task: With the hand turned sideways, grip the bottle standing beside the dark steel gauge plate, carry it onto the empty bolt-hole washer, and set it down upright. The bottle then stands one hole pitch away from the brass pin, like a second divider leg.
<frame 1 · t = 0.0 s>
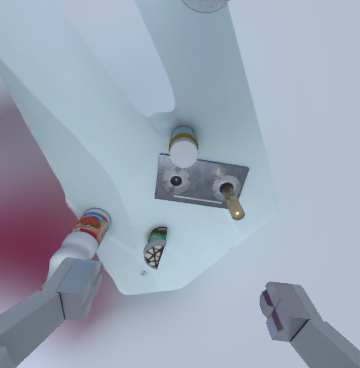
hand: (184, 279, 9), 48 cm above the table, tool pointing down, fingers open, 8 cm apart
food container: (155, 234, 70), on the table
gauge plate: (199, 182, 60), on the table
bottle: (183, 138, 54), on the table
fruit juice: (98, 218, 67), on the table
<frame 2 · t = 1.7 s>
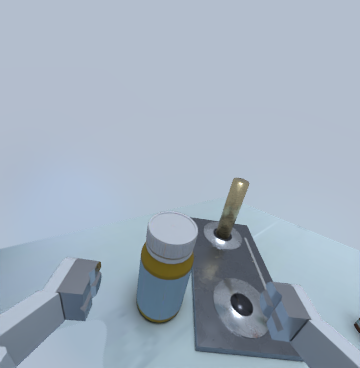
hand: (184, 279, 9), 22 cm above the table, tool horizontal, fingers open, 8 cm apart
gauge plate: (228, 269, 37), on the table
bottle: (158, 300, 30), on the table
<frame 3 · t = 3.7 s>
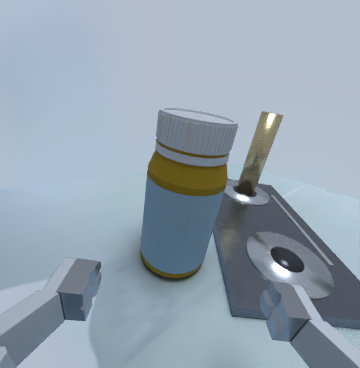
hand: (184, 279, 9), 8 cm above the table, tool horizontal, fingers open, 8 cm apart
gauge plate: (258, 225, 29), on the table
bottle: (171, 255, 21), on the table
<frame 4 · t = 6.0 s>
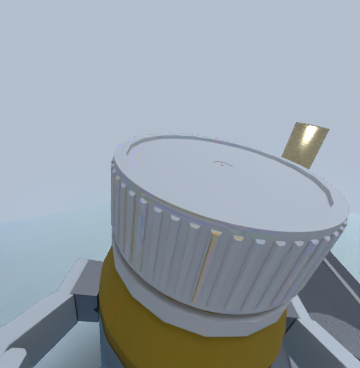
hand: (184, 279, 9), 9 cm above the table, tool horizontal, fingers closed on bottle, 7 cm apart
gauge plate: (292, 290, 20), on the table
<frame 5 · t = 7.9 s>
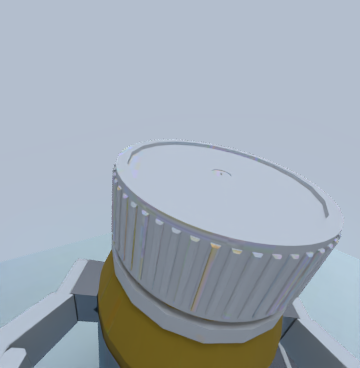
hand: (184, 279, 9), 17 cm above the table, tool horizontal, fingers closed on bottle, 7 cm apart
gauge plate: (227, 325, 24), on the table
when the fingers open (11 cm above the table, at t = 10.3 s): bottle stays where it is, resting on gauge plate.
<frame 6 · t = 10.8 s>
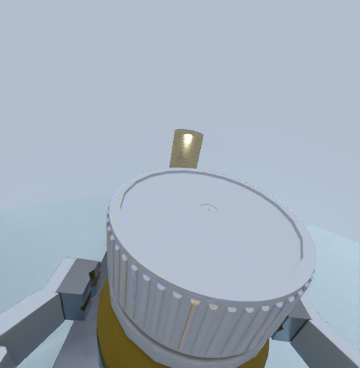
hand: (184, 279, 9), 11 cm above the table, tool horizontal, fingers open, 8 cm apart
gauge plate: (165, 293, 20), on the table
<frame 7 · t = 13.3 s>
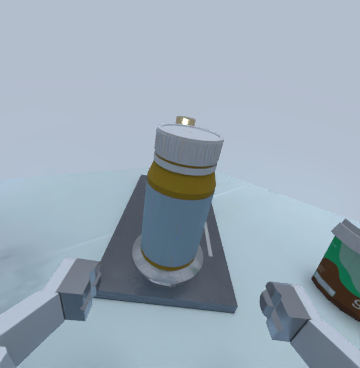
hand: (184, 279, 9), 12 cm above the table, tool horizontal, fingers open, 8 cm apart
gauge plate: (170, 221, 31), on the table
bottle: (167, 251, 24), point 1 cm above the table, touching gauge plate
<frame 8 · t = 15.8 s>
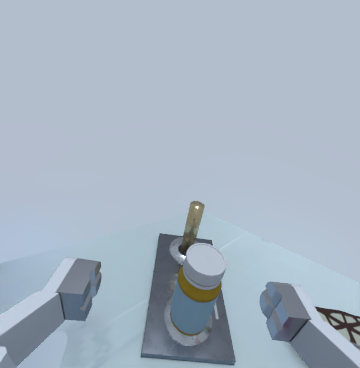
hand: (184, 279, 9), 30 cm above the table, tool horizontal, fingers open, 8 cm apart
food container: (319, 358, 34), on the table
gauge plate: (186, 283, 42), on the table
bottle: (187, 316, 35), point 1 cm above the table, touching gauge plate
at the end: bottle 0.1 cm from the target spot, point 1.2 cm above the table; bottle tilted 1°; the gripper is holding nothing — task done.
